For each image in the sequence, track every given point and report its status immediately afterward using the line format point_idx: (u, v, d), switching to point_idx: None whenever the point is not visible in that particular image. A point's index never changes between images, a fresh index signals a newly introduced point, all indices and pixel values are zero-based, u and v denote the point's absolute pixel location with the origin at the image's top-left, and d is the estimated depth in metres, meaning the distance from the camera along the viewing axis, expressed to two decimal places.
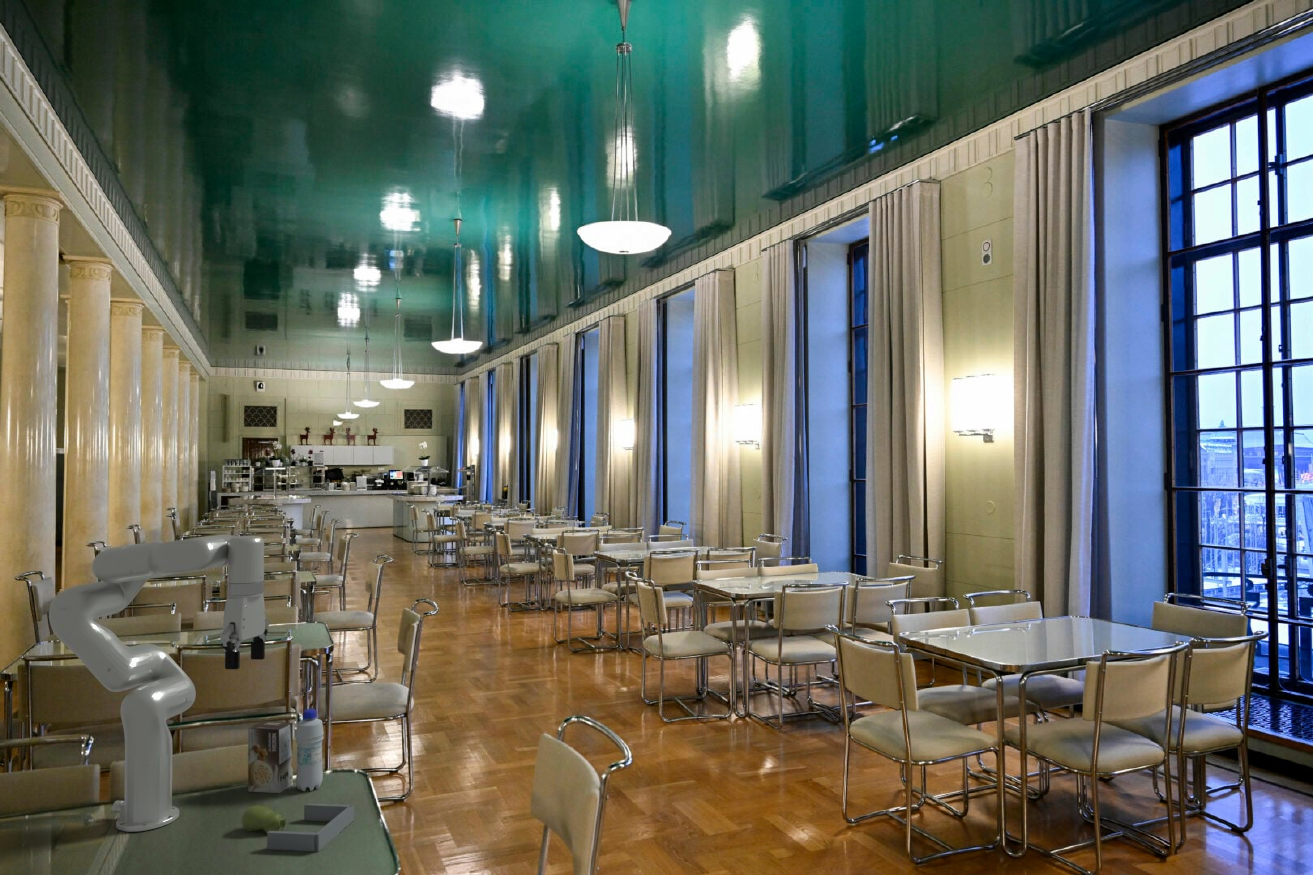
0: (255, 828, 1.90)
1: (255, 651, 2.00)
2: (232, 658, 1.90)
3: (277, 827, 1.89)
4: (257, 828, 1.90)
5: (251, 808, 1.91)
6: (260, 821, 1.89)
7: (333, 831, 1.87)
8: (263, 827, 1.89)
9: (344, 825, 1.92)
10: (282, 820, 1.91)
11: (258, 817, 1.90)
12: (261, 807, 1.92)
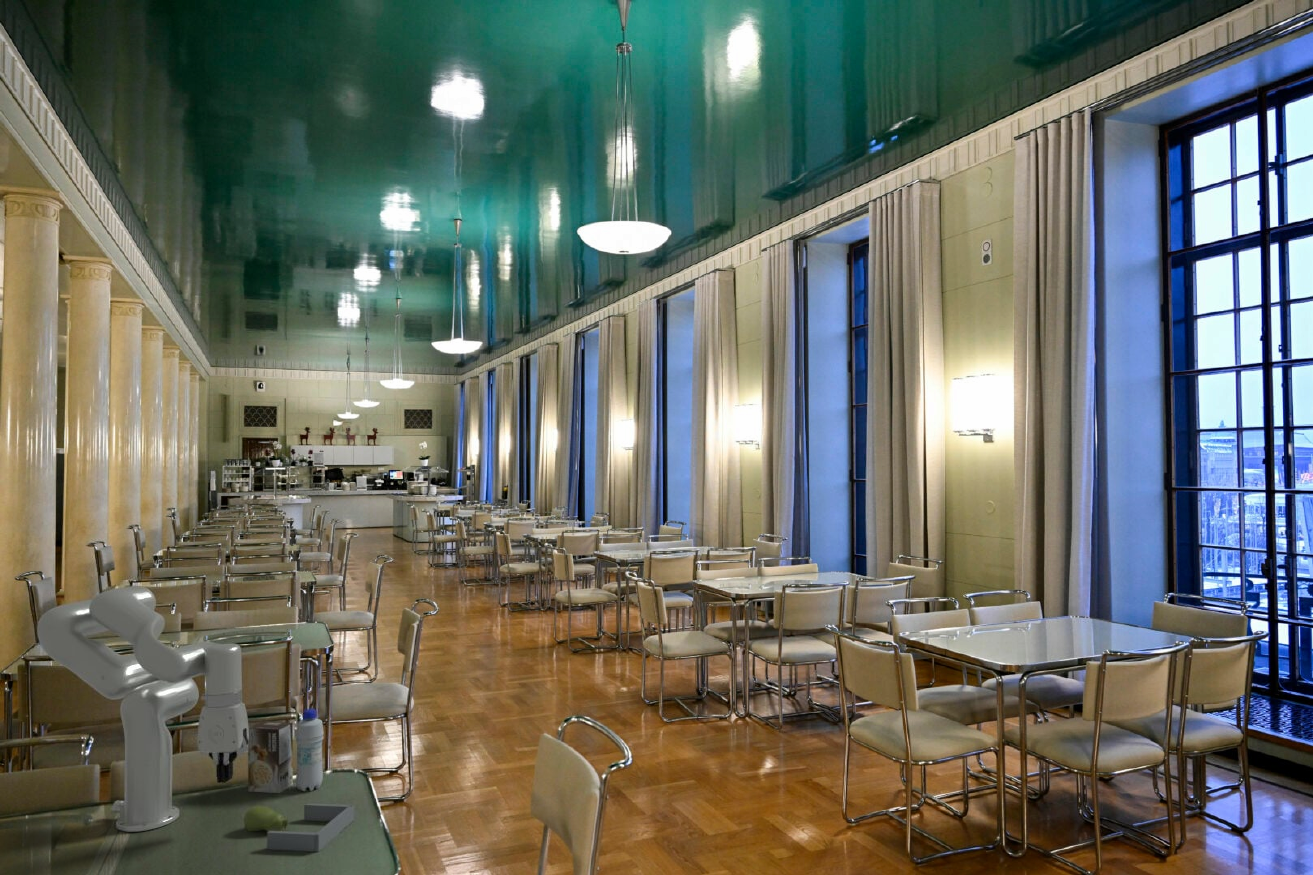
0: (257, 828, 1.89)
1: None
2: (232, 768, 1.94)
3: (279, 827, 1.89)
4: (259, 828, 1.90)
5: (253, 808, 1.91)
6: (262, 821, 1.89)
7: (333, 831, 1.87)
8: (265, 827, 1.89)
9: (344, 825, 1.92)
10: (284, 820, 1.91)
11: (260, 817, 1.89)
12: (263, 807, 1.92)
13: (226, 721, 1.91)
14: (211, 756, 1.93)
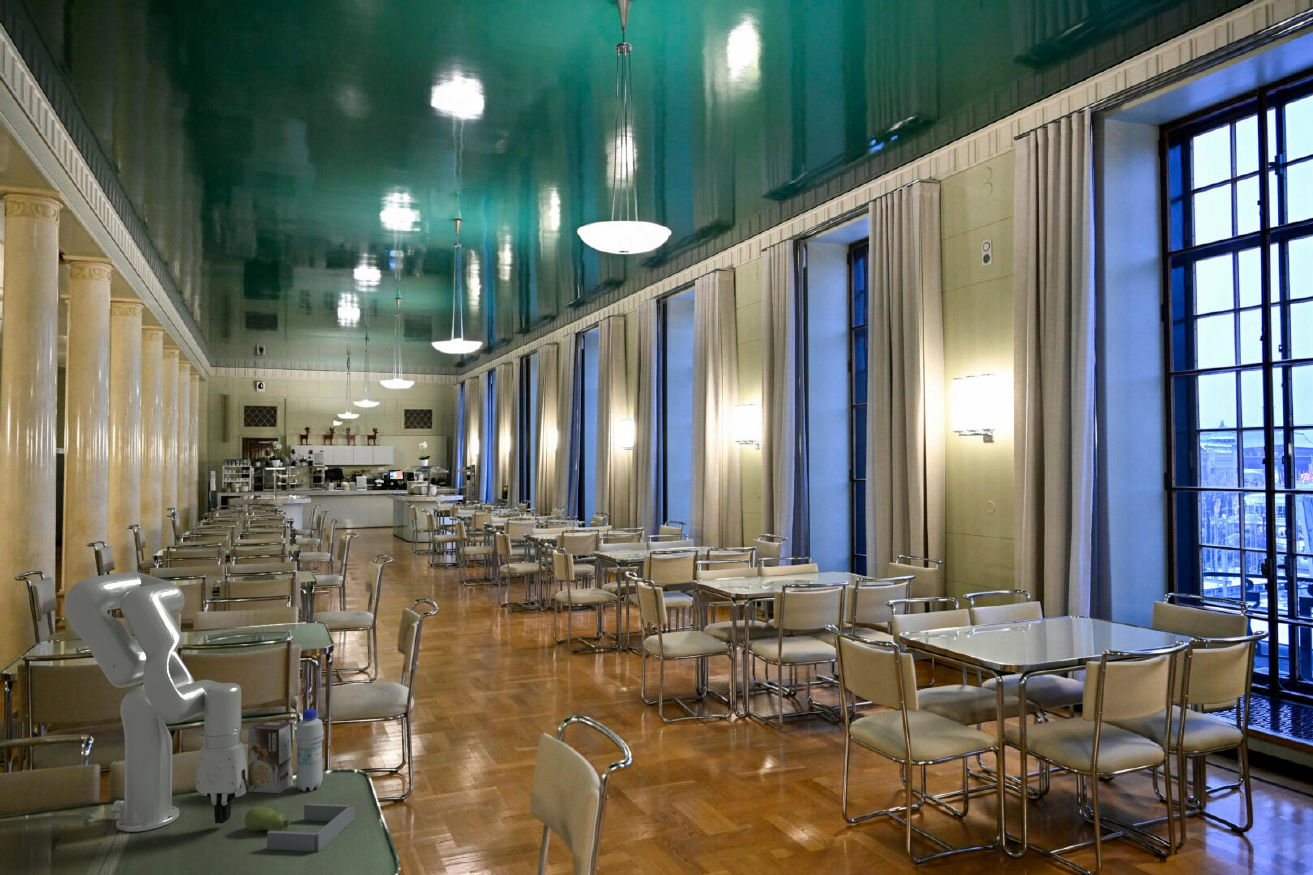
0: (258, 828, 1.89)
1: None
2: (230, 808, 1.93)
3: (280, 827, 1.89)
4: (260, 828, 1.89)
5: (254, 808, 1.91)
6: (263, 821, 1.89)
7: (333, 831, 1.87)
8: (266, 827, 1.89)
9: (344, 825, 1.92)
10: (285, 820, 1.91)
11: (261, 817, 1.89)
12: (264, 807, 1.92)
13: (225, 762, 1.90)
14: (209, 796, 1.93)
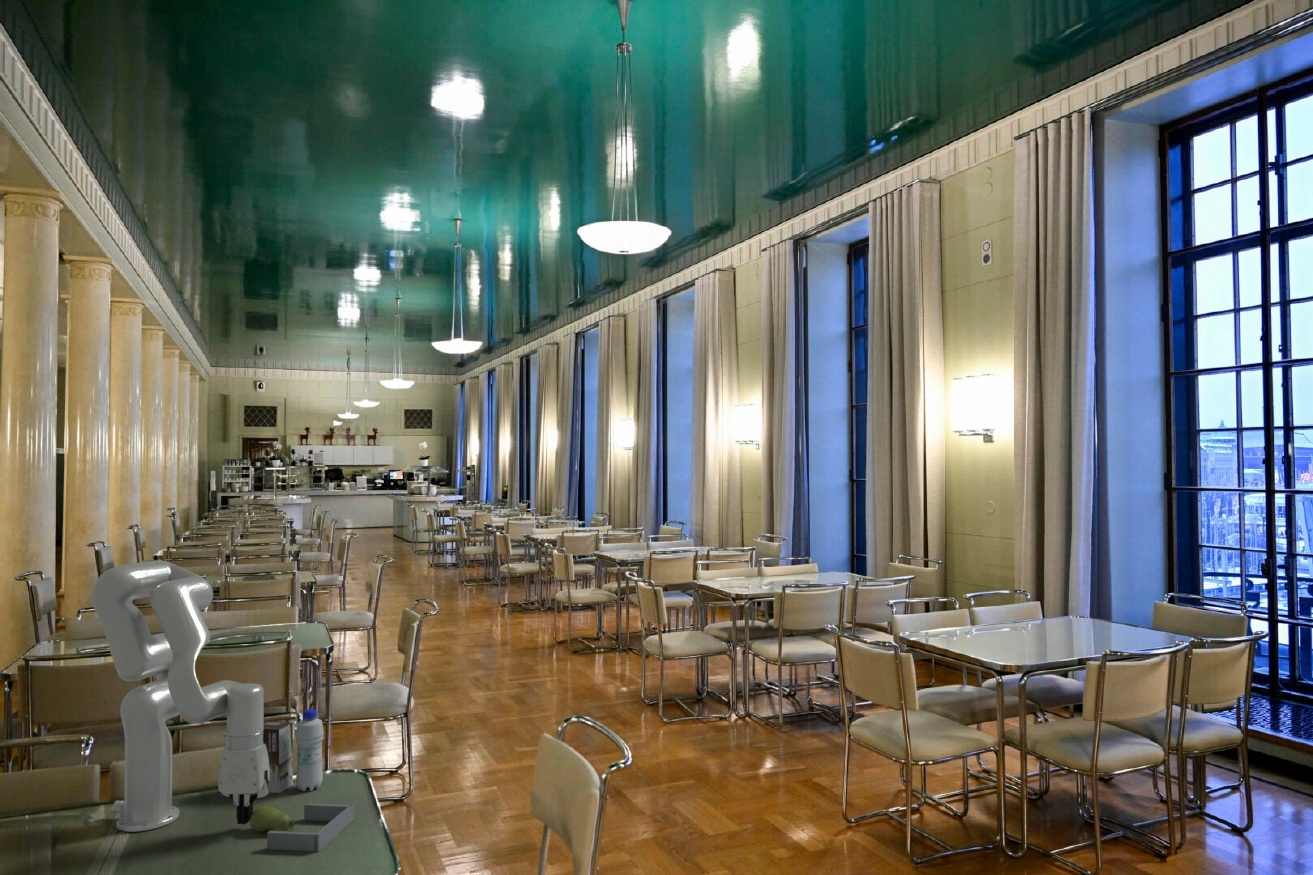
0: (264, 828, 1.89)
1: None
2: (252, 809, 1.93)
3: (286, 827, 1.89)
4: (265, 828, 1.89)
5: (259, 808, 1.91)
6: (269, 821, 1.89)
7: (333, 831, 1.87)
8: (272, 827, 1.89)
9: (344, 825, 1.92)
10: (291, 820, 1.90)
11: (266, 817, 1.89)
12: (269, 807, 1.92)
13: (248, 763, 1.90)
14: (231, 797, 1.92)
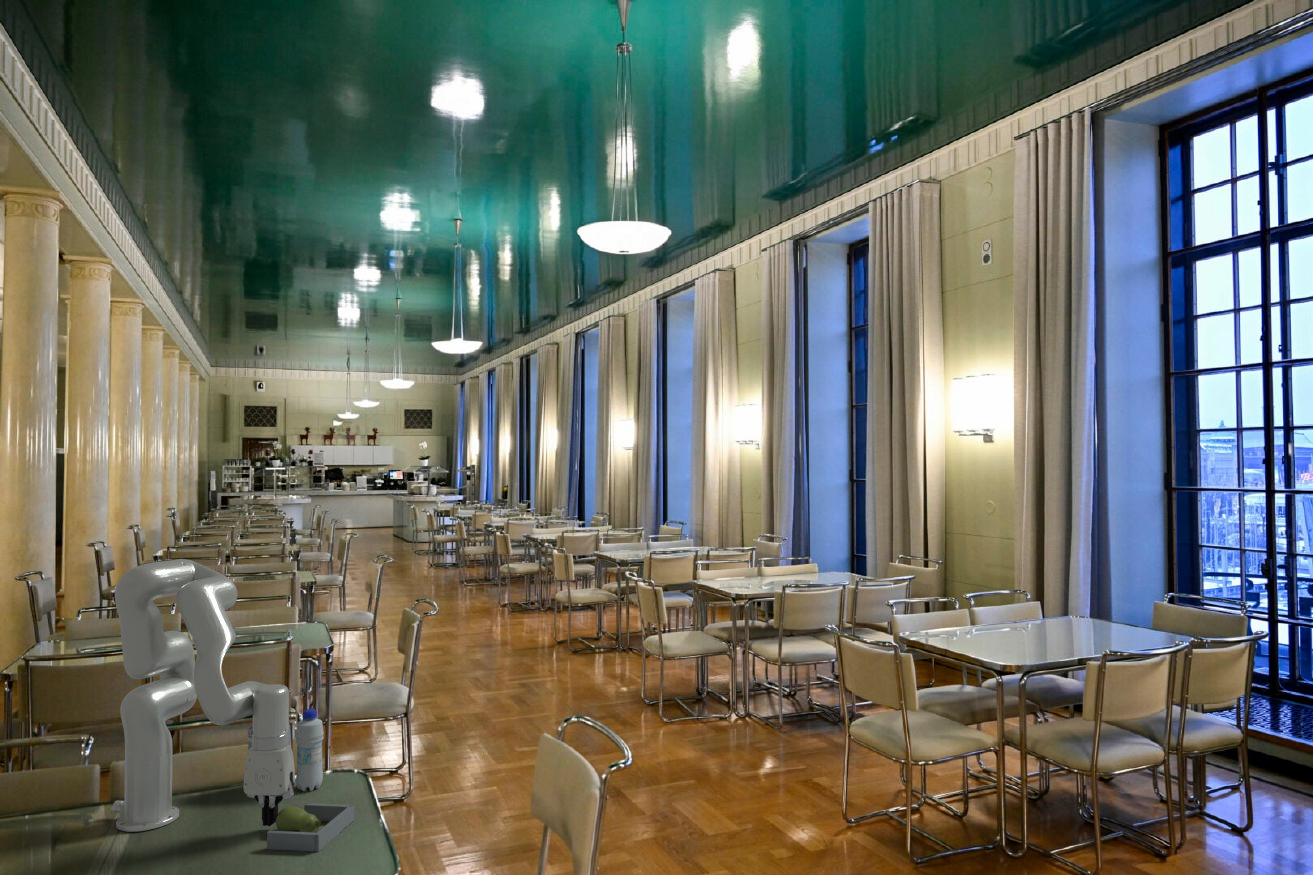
0: (290, 829, 1.88)
1: None
2: (277, 811, 1.92)
3: (312, 828, 1.89)
4: (292, 829, 1.89)
5: (285, 809, 1.90)
6: (295, 822, 1.88)
7: (333, 831, 1.87)
8: (298, 828, 1.88)
9: (344, 825, 1.92)
10: (317, 821, 1.90)
11: (293, 818, 1.89)
12: (295, 808, 1.91)
13: (273, 764, 1.89)
14: (257, 798, 1.91)
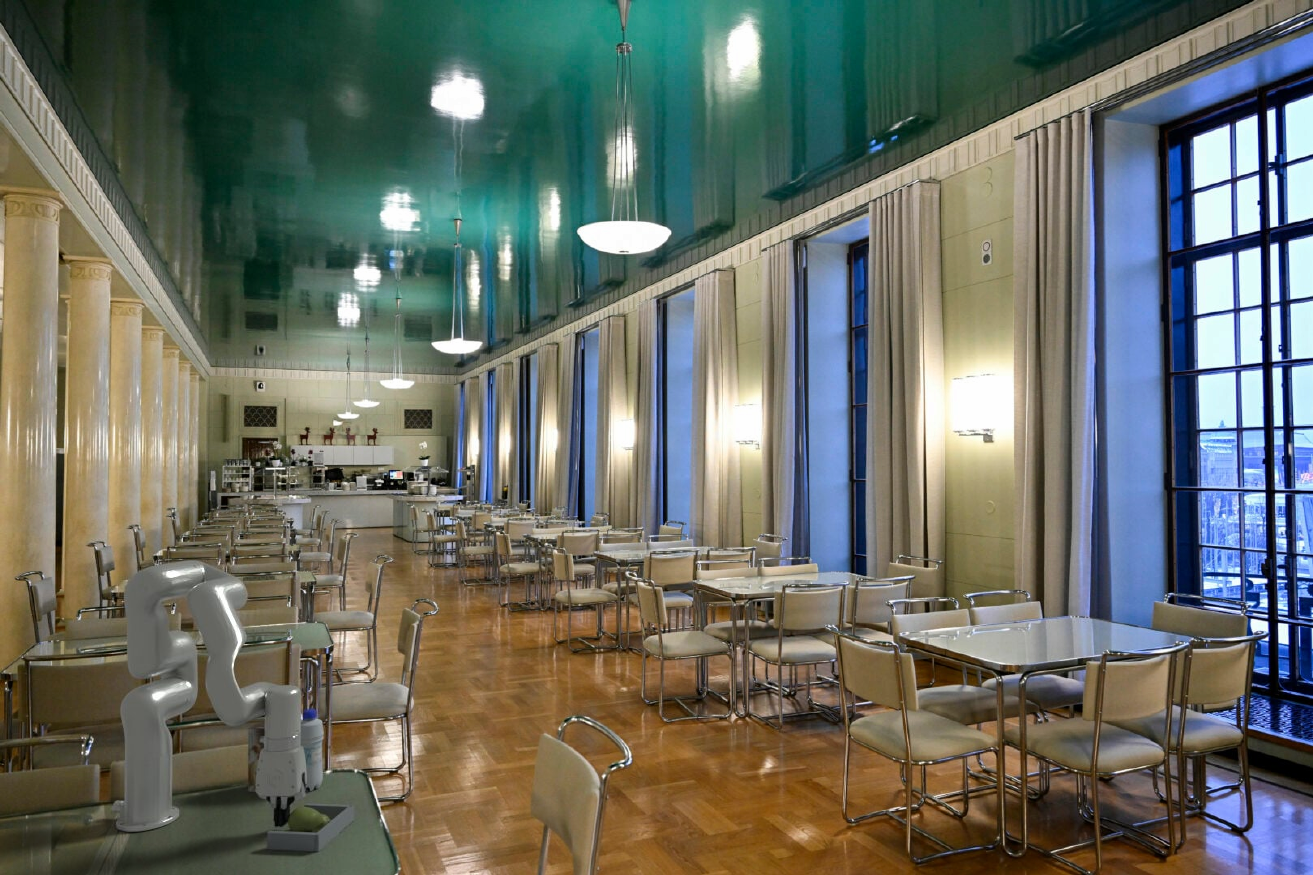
0: (302, 830, 1.88)
1: None
2: (289, 812, 1.92)
3: None
4: (304, 830, 1.88)
5: (297, 809, 1.90)
6: (307, 822, 1.88)
7: (333, 831, 1.87)
8: (311, 828, 1.88)
9: (344, 825, 1.92)
10: (329, 821, 1.89)
11: (305, 818, 1.88)
12: (307, 808, 1.91)
13: (285, 765, 1.89)
14: (269, 799, 1.91)
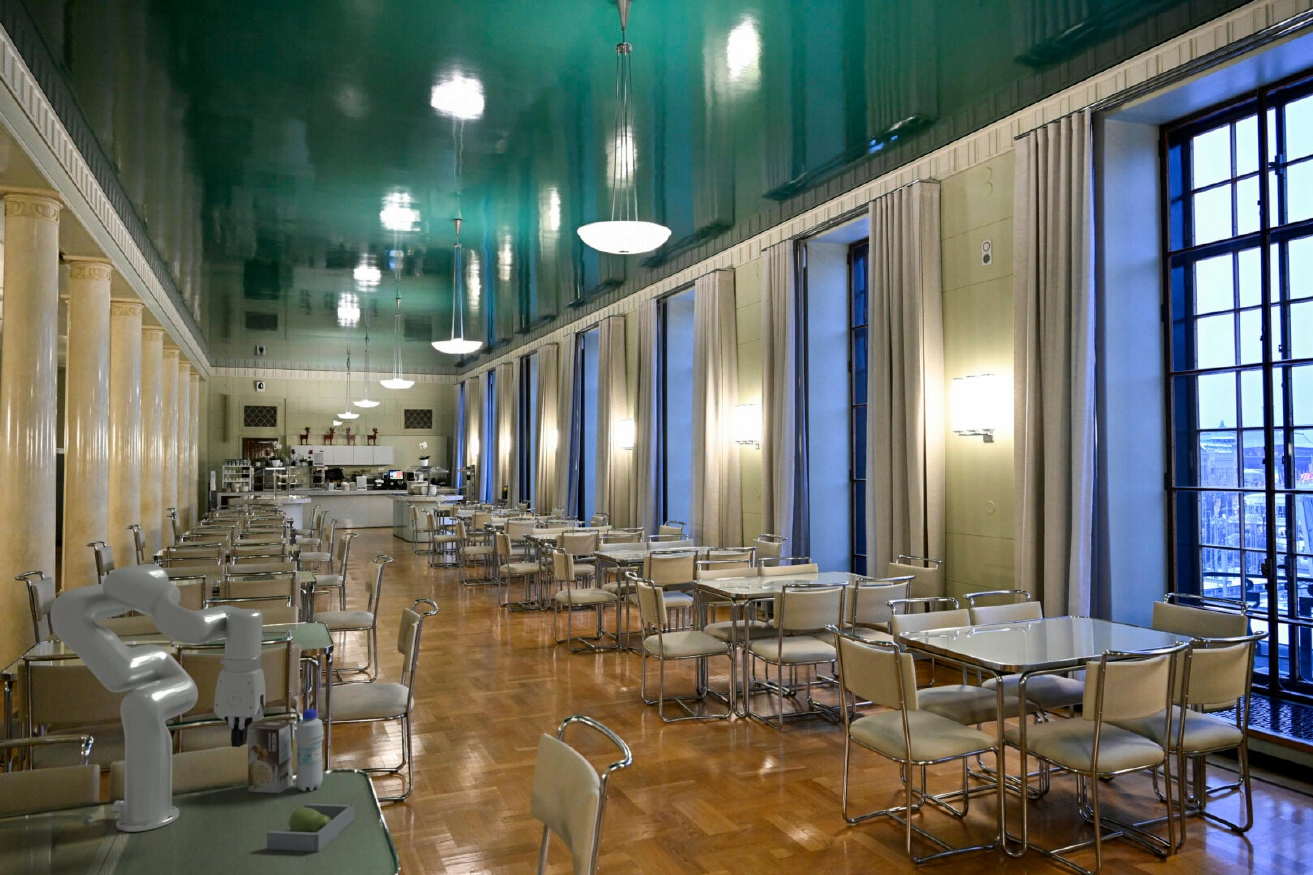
0: (303, 830, 1.88)
1: None
2: (246, 733, 1.94)
3: None
4: (305, 830, 1.88)
5: (299, 810, 1.90)
6: (309, 823, 1.88)
7: (333, 831, 1.87)
8: (312, 829, 1.88)
9: (344, 825, 1.92)
10: None
11: (306, 819, 1.88)
12: (308, 809, 1.91)
13: (244, 686, 1.90)
14: (227, 720, 1.93)
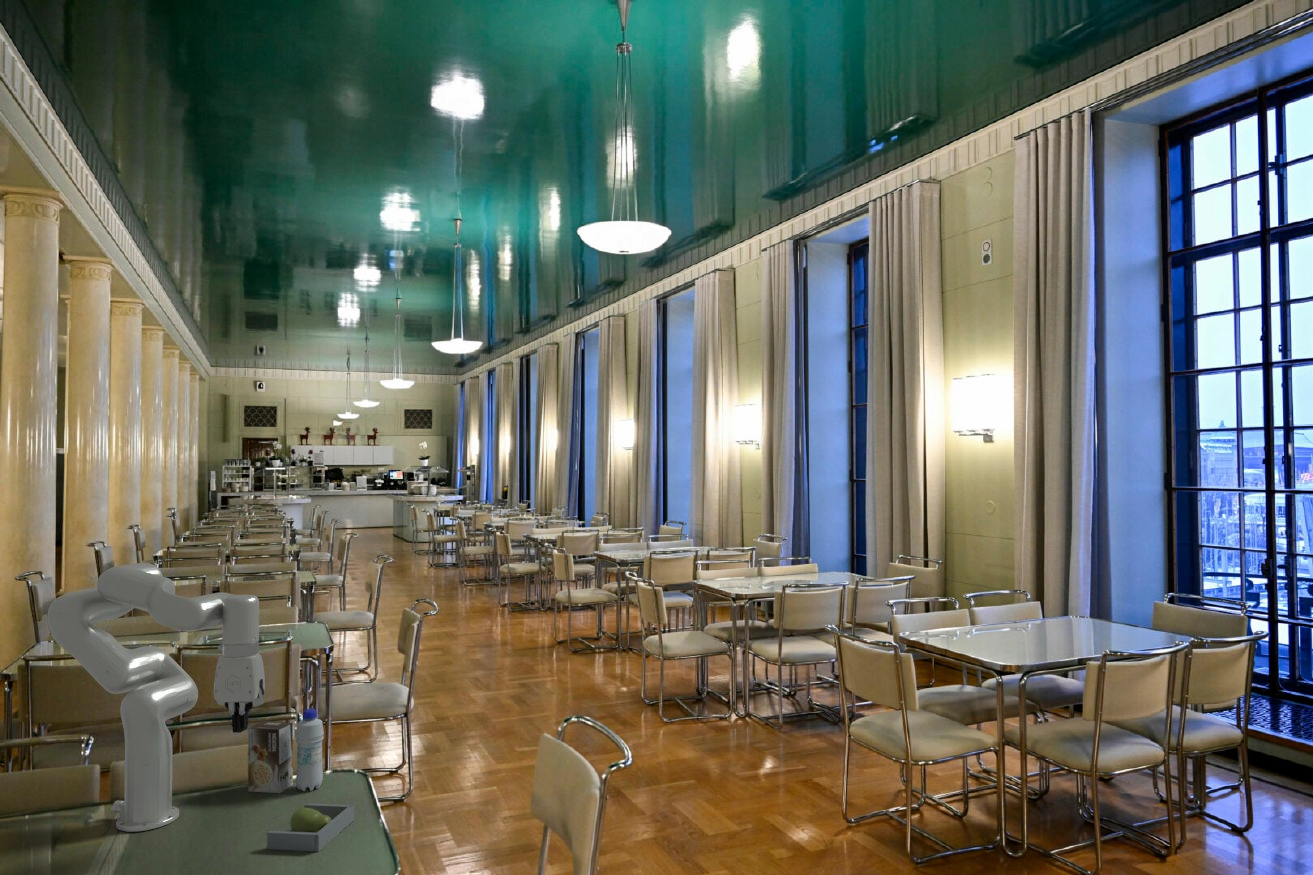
0: (305, 831, 1.88)
1: None
2: (247, 718, 1.94)
3: None
4: (307, 831, 1.88)
5: (300, 811, 1.90)
6: (310, 823, 1.88)
7: (333, 831, 1.87)
8: (313, 829, 1.88)
9: (344, 825, 1.92)
10: None
11: (308, 819, 1.88)
12: (310, 809, 1.91)
13: (243, 671, 1.91)
14: (227, 706, 1.93)
